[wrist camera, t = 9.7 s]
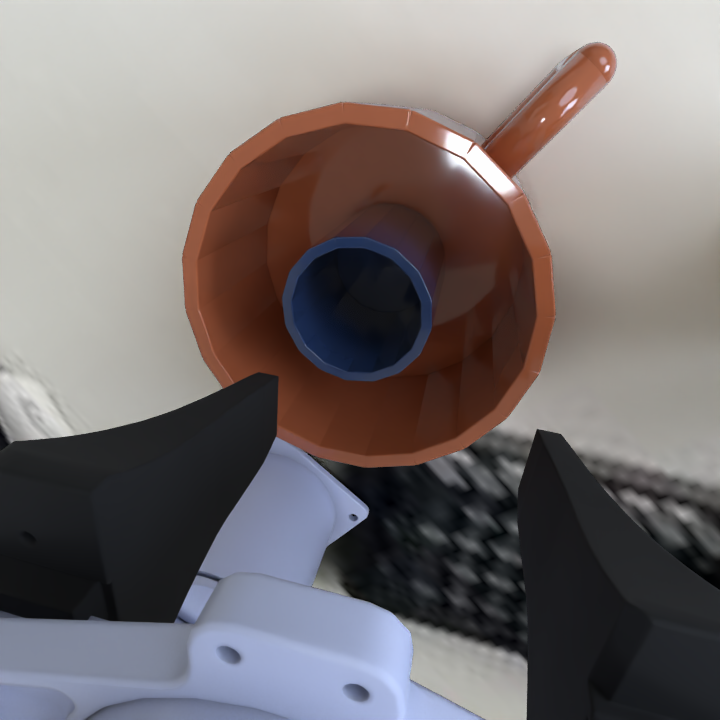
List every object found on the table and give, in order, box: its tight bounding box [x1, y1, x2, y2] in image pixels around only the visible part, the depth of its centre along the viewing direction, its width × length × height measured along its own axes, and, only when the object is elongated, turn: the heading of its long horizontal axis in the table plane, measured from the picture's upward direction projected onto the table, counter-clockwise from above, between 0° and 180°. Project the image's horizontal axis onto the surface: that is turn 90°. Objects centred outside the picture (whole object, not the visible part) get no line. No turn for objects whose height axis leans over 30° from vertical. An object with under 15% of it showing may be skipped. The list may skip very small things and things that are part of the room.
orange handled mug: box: [182, 42, 617, 468], centre depth 19 cm, size 16×12×7 cm
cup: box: [282, 203, 446, 382], centre depth 20 cm, size 5×5×6 cm
